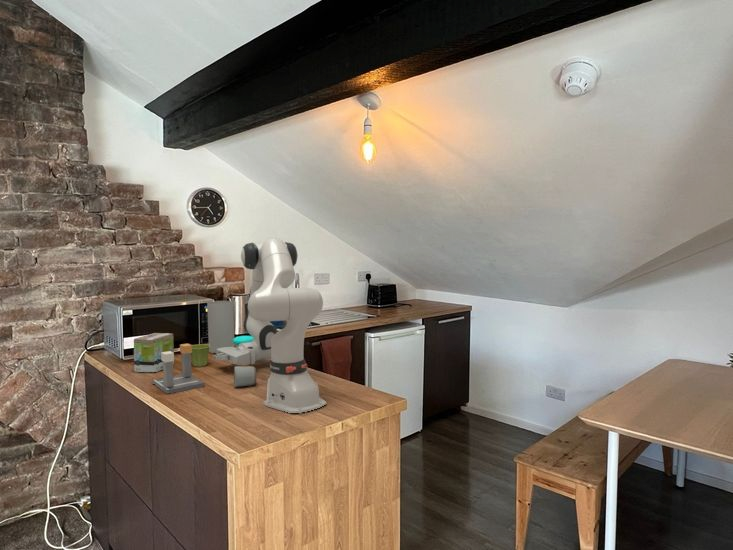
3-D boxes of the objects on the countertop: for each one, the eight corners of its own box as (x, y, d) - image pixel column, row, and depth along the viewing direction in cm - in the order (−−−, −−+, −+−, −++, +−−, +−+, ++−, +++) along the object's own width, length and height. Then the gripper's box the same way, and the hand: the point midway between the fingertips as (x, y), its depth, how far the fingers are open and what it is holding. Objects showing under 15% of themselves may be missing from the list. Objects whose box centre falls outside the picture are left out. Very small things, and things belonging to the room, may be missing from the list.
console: (204, 386, 183) (204, 382, 183) (166, 394, 174) (166, 390, 174) (187, 376, 197) (187, 373, 197) (151, 383, 188) (151, 379, 188)
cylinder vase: (228, 347, 252) (226, 300, 250) (238, 351, 242) (237, 302, 241) (205, 351, 244) (203, 302, 242) (214, 355, 234) (213, 304, 233)
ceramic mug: (257, 387, 182) (256, 367, 182) (235, 389, 179) (234, 369, 179) (253, 380, 192) (253, 361, 192) (232, 382, 189) (232, 363, 189)
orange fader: (192, 376, 191) (191, 345, 190) (184, 377, 189) (183, 346, 188) (188, 373, 195) (187, 343, 194) (181, 375, 193) (179, 344, 192)
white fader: (175, 386, 178) (173, 353, 177) (166, 387, 176) (164, 354, 175) (171, 383, 181) (169, 351, 180) (162, 385, 179) (161, 352, 178)
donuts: (258, 336, 229) (241, 340, 221) (259, 357, 229) (242, 361, 222) (245, 334, 235) (228, 337, 227) (245, 354, 235) (229, 358, 228)
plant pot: (187, 364, 218) (187, 345, 217) (209, 361, 222) (208, 343, 221) (190, 369, 209) (189, 349, 209) (212, 366, 214) (212, 347, 213)
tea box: (155, 373, 203) (153, 339, 202) (133, 373, 204) (132, 338, 203) (175, 364, 217) (173, 332, 216) (154, 364, 219) (153, 332, 218)
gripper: (234, 342, 216) (204, 346, 207) (256, 349, 200) (224, 355, 191) (235, 356, 216) (205, 361, 207) (256, 364, 201) (225, 370, 192)
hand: (214, 358), depth 199 cm, fingers closed
